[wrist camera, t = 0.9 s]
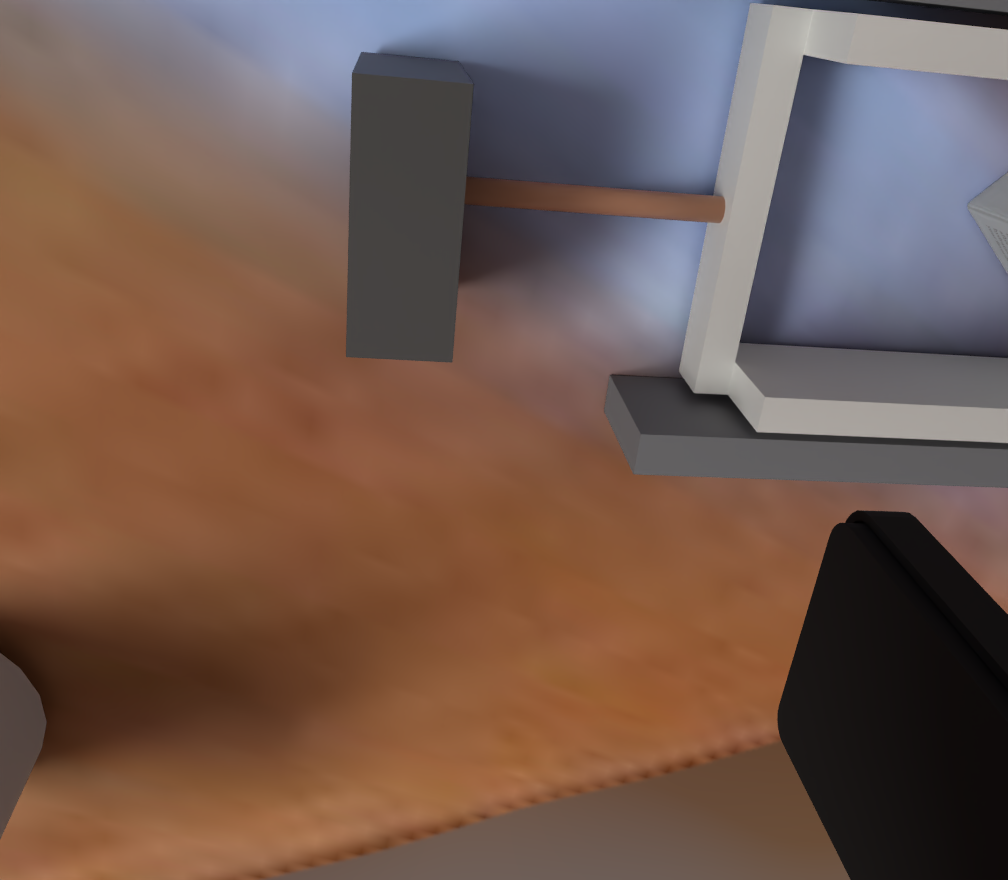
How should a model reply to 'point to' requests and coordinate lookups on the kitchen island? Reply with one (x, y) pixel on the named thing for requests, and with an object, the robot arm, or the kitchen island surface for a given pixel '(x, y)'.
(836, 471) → the tray
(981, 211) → the skincare box
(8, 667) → the can
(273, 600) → the kitchen island surface
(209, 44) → the kitchen island surface
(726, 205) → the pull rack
